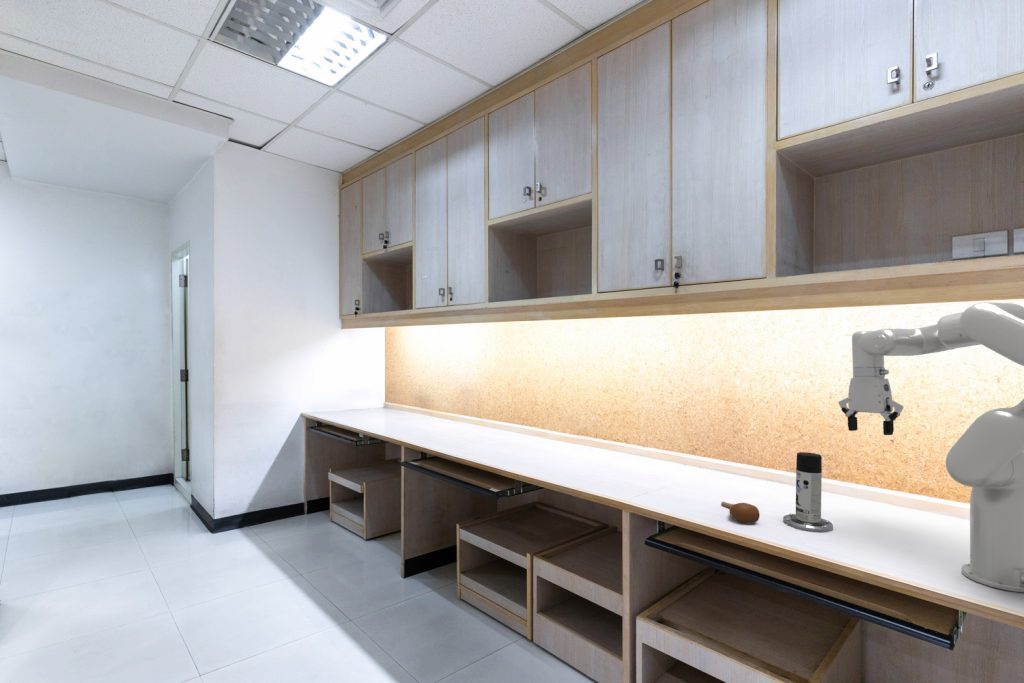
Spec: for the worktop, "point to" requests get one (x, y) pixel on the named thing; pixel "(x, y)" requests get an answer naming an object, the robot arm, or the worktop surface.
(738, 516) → the pipe
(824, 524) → the flange
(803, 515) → the spray can
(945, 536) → the worktop surface
